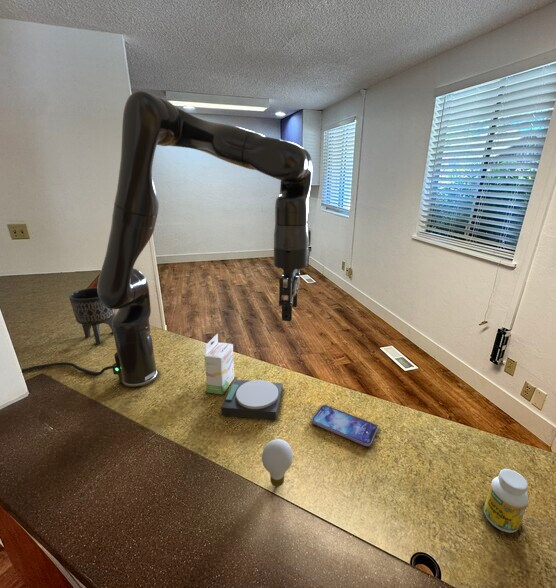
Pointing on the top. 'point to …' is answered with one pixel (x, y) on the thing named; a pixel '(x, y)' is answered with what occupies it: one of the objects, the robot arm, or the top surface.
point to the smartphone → (345, 425)
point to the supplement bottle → (507, 500)
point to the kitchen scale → (253, 399)
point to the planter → (90, 311)
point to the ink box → (218, 365)
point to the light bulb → (277, 460)
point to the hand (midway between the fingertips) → (289, 313)
